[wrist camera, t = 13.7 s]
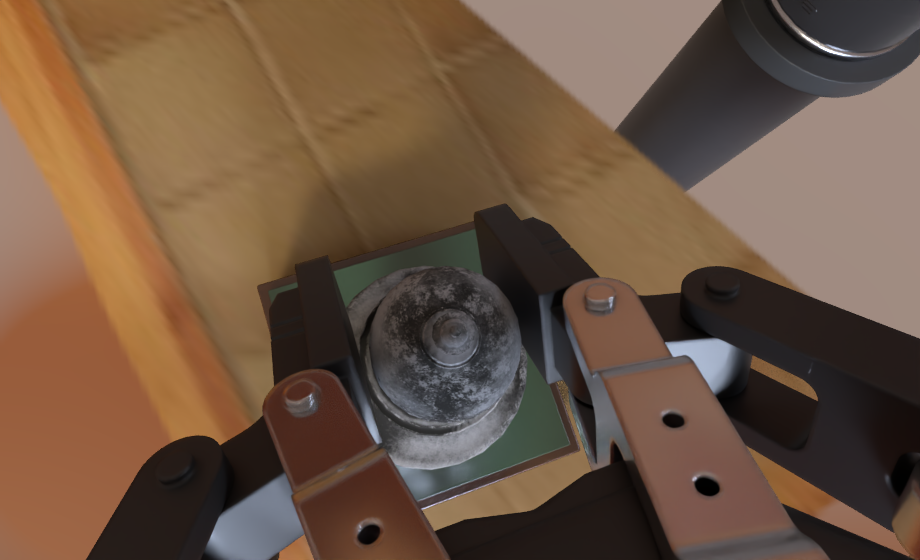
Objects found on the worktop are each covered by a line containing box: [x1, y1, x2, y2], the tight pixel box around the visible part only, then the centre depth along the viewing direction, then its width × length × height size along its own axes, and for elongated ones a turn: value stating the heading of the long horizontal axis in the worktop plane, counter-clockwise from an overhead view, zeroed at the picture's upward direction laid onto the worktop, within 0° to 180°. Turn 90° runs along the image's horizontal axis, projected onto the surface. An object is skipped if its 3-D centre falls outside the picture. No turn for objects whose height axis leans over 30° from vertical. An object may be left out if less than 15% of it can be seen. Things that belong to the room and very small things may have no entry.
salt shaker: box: [346, 266, 527, 470], centre depth 15 cm, size 6×6×12 cm
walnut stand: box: [257, 221, 580, 510], centre depth 24 cm, size 10×10×4 cm
